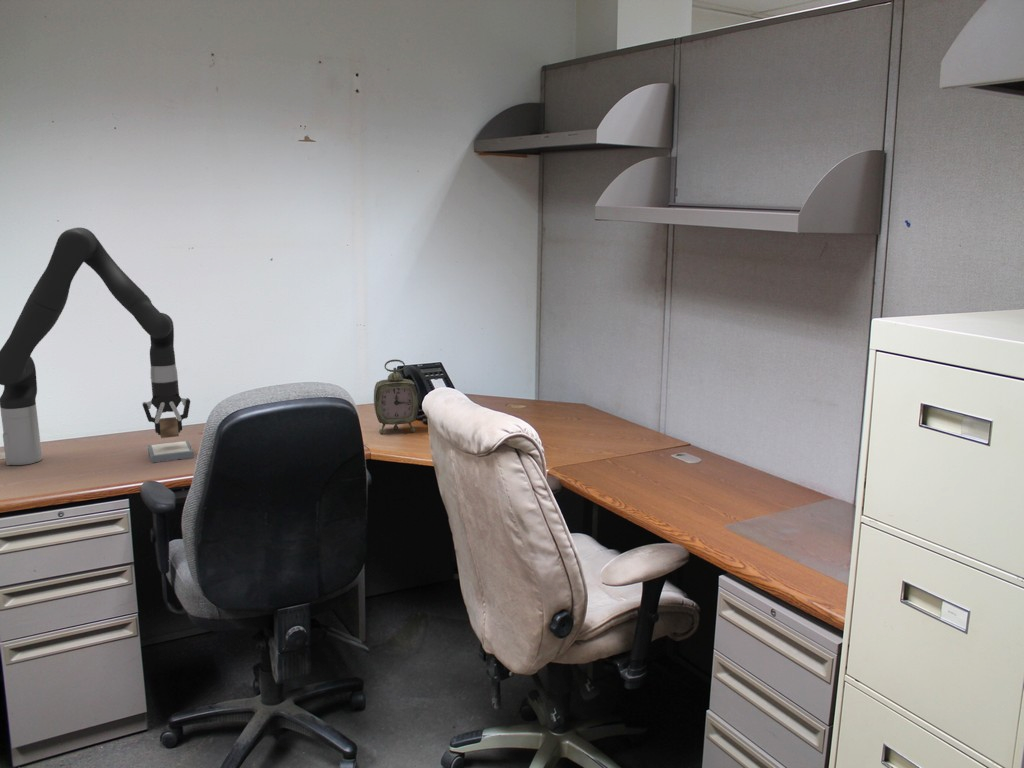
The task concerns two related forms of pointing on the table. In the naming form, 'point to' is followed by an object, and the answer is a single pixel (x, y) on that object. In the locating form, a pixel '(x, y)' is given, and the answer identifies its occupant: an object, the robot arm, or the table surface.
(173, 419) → the cube
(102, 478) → the table surface
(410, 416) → the tabletop clock
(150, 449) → the board
